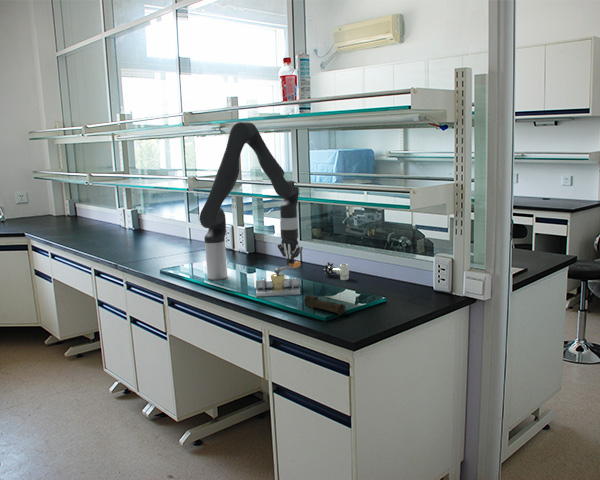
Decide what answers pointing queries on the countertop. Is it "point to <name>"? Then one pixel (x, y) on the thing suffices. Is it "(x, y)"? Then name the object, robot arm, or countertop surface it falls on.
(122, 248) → the countertop surface
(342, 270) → the valve
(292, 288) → the valve manifold
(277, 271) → the valve lever
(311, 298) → the hand tool
